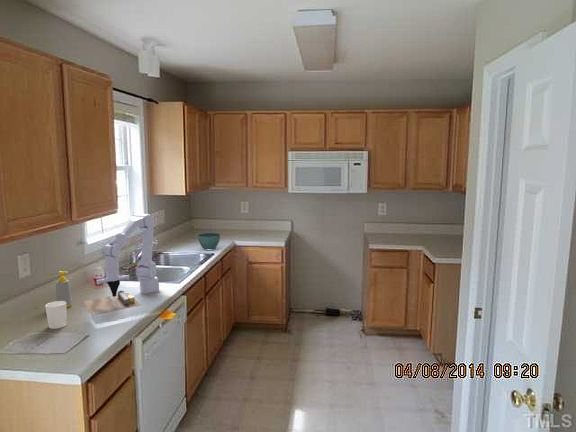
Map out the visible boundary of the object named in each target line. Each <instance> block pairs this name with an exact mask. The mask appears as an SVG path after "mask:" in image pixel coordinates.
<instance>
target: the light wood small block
mask: <svg viewBox="0 0 576 432" xmlns="http://www.w3.org/2000/svg"><path fill="white" fill-rule="evenodd" d="M127 297H128V298H129V303H135V300H136V298H135V296H134V295H132V294H130V296H127Z"/></svg>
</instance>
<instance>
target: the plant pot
mask: <svg viewBox="0 0 576 432" xmlns="http://www.w3.org/2000/svg"><path fill="white" fill-rule="evenodd" d="M197 239H198V243H199V245H200V247H201V248H202V249H203V248H204V249H214V248H215V249H216V248H217V246H218V245H219V243H220V240H221V234H220V233H216V232H215V233H214V232H205V233H199V234H197ZM204 249H203V250H204ZM215 249H214V250H215Z"/></svg>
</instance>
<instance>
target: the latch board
mask: <svg viewBox="0 0 576 432" xmlns="http://www.w3.org/2000/svg"><path fill="white" fill-rule="evenodd" d="M124 293H125V292H124ZM125 295H126V296H130V295H131V294H130V293H129V292H126V293H125ZM82 302H83V303H84V306H86V308H87V309H88V312H89V313H90V314H91V315H92V316H96V315H102V314H105V313H110V312H116V311H120V310H126V309H130V308H131V309H132V308H134V307H135V308H136V307H140V306H142V304H141V303H140V302H139V301H137V299H135V303H129V304H126V305H125V304H124V303H123V302H122V300H121V299H120V298H118V294H116V296H115V297H113V296H112V295H109V296H105V297H98V298H93V299H88V300H82Z"/></svg>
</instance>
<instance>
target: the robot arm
mask: <svg viewBox="0 0 576 432" xmlns="http://www.w3.org/2000/svg"><path fill="white" fill-rule="evenodd" d="M154 222H155V218H154V217H153V216H152V214H149V213H134V214H133V215H132V216H131V217H130V219H129V222H128V223H127V225H126V226H125V228H124V229H123V231H122V232H120V233H119V232H118V233H116V234H115V236H114V238H113V239H111V240H110V242H109V243H108V244H105V245H104V246H103V247H102V249H101V250H102V251H101V254H102V256H103V258H104V262H105V275H106V277H104V278H99V279H96V284H97V285H101V284H107V286H108V288H109V289H110V292H111V296H113V297H115V296H116V295H118V289H119V286H120V284H121V281H125V280H127V281H129V280H130V275H129V274H125V275H120V267H119V266H120V265H119V264H120V263H119V256H120V255H121V252H122V247H124V246H125V244H126V243H127V242H128V241H129V239H128V237H129V236H131V234H133V232H134V231H135V230H137V228H139V229H140V230H141V231H142V240H141V241H142V242H141V244H142V245H141V259H140V260H139V262H138V263H137V267H136V269H135V274H136V275H135V276H137V277H138V279H139V291H140V294H142V295H143V294H144V295H147V294H151V293H156V292H160V282H159V278H158V277H157V274H158V273H157V264H156V263H155V262H154V261H153V247H154V246H153V244H154V230H155V229H154V226H155V225H154V224H155V223H154Z"/></svg>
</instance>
